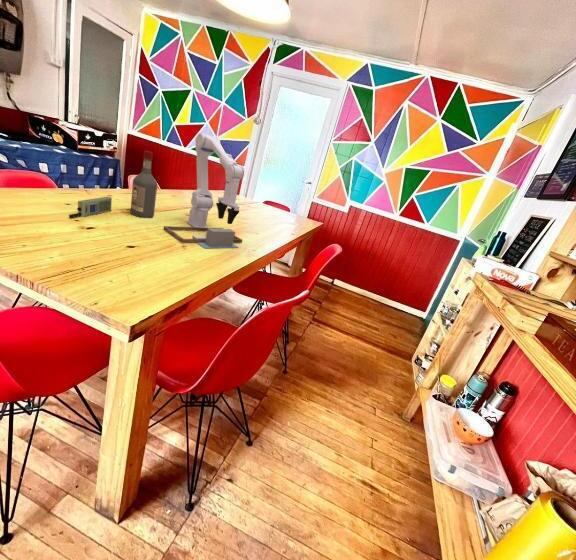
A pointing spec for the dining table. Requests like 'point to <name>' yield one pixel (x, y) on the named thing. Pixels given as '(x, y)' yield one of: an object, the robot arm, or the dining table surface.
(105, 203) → the handheld radio
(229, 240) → the grey rectangular block
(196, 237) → the offcut stack
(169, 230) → the dark rectangular frame
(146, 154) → the liquor
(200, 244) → the blue mat
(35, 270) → the dining table surface
